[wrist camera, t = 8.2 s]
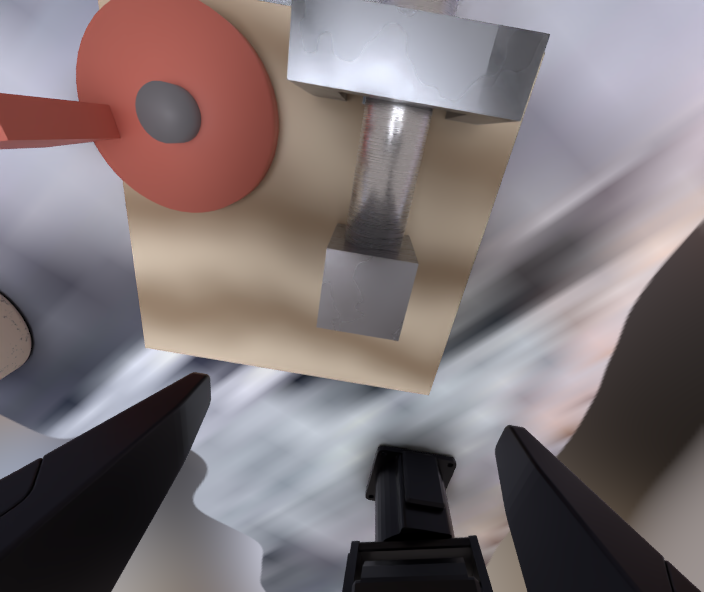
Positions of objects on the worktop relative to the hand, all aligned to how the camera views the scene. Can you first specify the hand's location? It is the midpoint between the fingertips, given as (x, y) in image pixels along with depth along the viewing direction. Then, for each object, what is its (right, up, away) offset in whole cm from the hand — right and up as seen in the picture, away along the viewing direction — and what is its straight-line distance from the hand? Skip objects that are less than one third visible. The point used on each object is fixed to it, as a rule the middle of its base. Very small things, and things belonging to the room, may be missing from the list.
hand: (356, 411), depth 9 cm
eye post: (+2, +13, +7) cm, 15 cm away
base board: (-3, +7, +11) cm, 14 cm away
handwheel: (-9, +12, +8) cm, 17 cm away
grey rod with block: (+2, +10, +8) cm, 13 cm away
